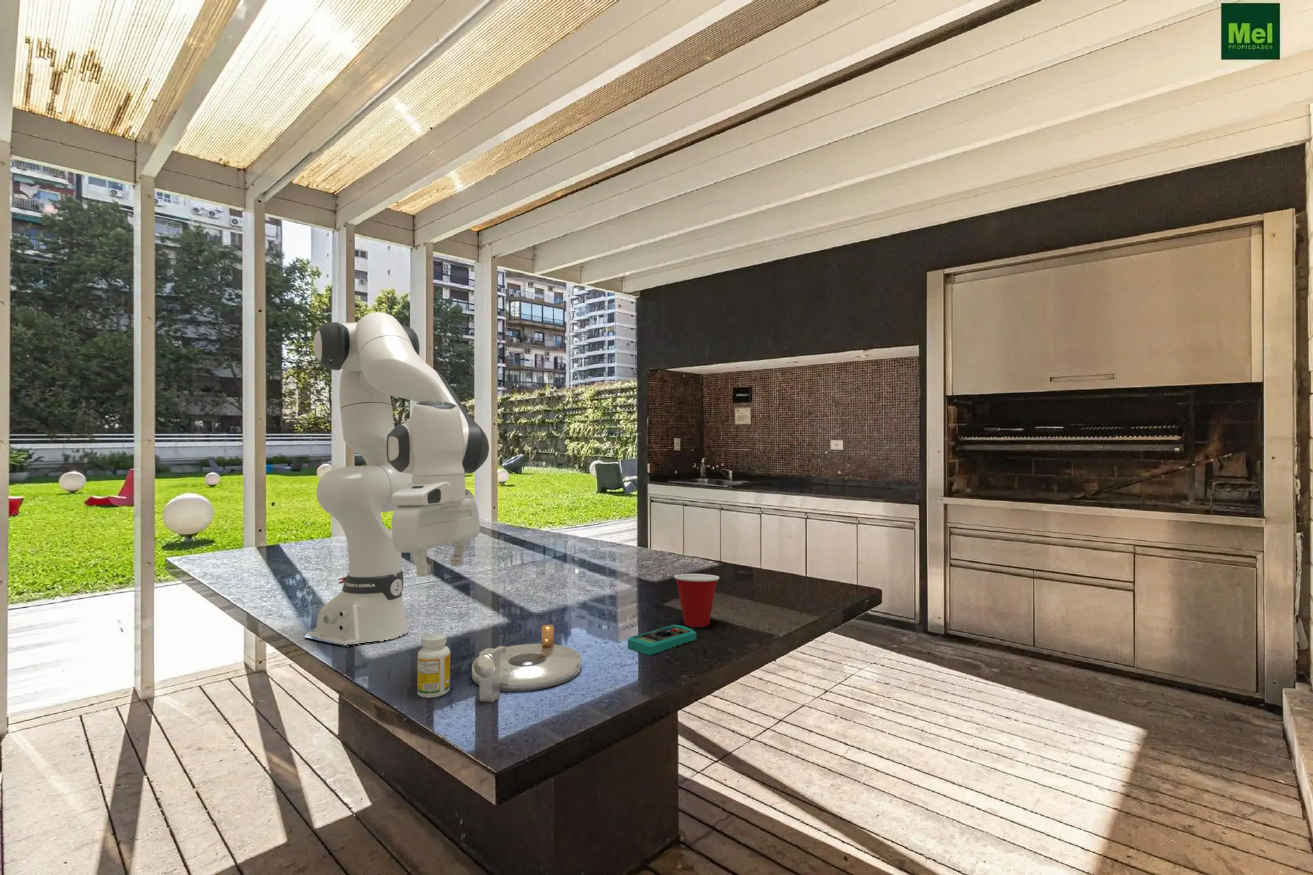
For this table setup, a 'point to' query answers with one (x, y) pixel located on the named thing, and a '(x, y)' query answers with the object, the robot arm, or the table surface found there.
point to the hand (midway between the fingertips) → (441, 570)
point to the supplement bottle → (433, 666)
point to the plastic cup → (696, 597)
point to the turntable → (536, 664)
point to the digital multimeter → (661, 639)
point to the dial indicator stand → (489, 672)
